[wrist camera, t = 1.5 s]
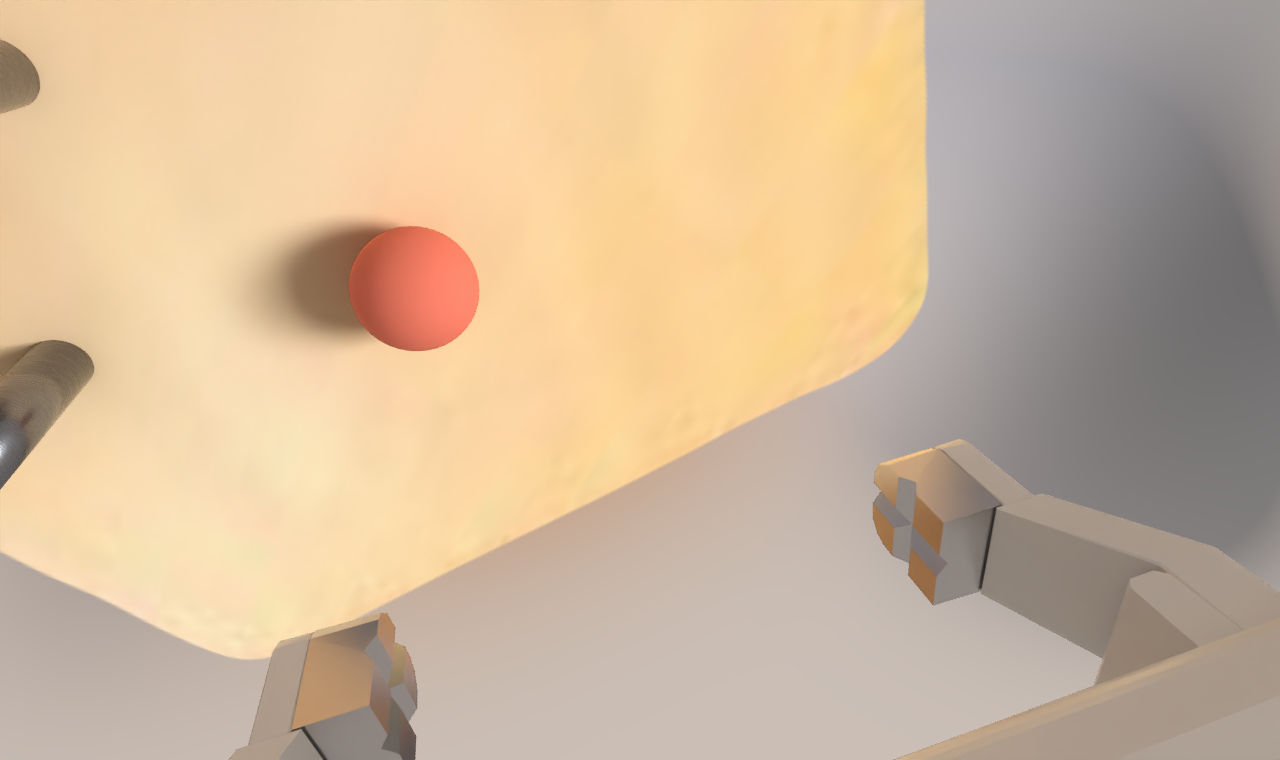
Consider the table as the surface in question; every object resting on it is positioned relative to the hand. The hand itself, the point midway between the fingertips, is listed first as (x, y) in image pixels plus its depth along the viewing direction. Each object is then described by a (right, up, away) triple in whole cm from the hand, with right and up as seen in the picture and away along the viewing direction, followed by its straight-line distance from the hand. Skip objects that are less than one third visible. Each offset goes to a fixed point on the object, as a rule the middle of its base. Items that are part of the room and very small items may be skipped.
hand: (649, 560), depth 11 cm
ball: (-11, +7, +22) cm, 25 cm away
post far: (-28, +4, +21) cm, 36 cm away
